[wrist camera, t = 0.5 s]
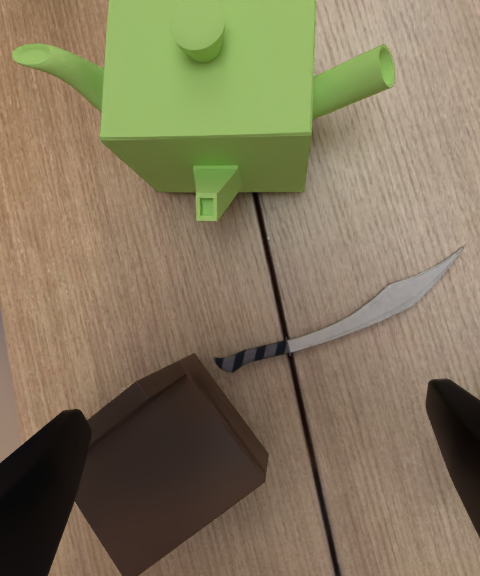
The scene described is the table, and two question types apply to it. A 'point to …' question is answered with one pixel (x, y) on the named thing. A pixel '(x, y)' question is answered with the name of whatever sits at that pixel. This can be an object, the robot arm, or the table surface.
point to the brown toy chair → (165, 464)
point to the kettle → (213, 92)
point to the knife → (350, 317)
